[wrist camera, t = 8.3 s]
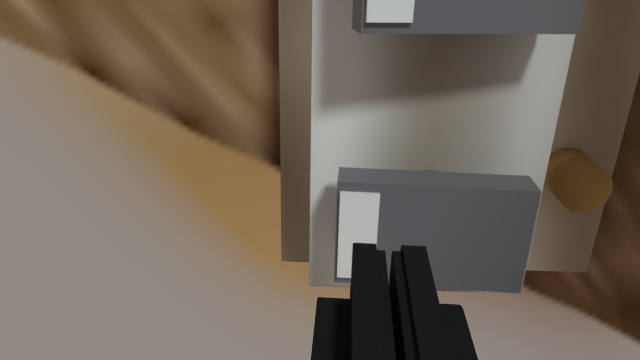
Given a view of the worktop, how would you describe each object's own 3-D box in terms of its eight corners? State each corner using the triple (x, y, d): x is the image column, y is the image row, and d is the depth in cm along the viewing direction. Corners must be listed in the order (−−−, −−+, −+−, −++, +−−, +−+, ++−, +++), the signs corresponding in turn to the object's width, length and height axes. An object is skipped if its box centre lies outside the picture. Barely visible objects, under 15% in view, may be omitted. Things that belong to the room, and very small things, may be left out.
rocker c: (523, 168, 17) (543, 193, 15) (505, 263, 18) (521, 296, 16) (339, 160, 17) (336, 183, 15) (336, 253, 18) (333, 284, 17)
